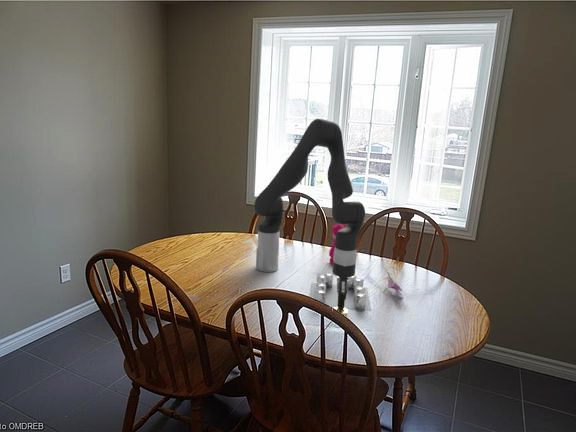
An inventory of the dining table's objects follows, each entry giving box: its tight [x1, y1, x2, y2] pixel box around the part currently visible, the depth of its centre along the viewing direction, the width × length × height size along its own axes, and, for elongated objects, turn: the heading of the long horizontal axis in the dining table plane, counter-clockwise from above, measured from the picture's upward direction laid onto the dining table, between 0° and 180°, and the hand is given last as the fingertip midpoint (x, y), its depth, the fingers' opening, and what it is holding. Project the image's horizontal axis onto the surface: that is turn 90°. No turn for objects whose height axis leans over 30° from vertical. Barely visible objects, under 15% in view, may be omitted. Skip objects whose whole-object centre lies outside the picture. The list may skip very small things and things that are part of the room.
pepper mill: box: [328, 222, 346, 265], centre depth 187 cm, size 7×7×20 cm
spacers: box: [315, 272, 366, 312], centre depth 151 cm, size 18×21×5 cm
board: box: [305, 282, 372, 332], centre depth 146 cm, size 22×32×1 cm
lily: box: [382, 267, 404, 298], centre depth 157 cm, size 12×12×10 cm
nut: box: [334, 307, 348, 317], centre depth 136 cm, size 5×5×2 cm
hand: (340, 307), depth 140 cm, fingers closed
